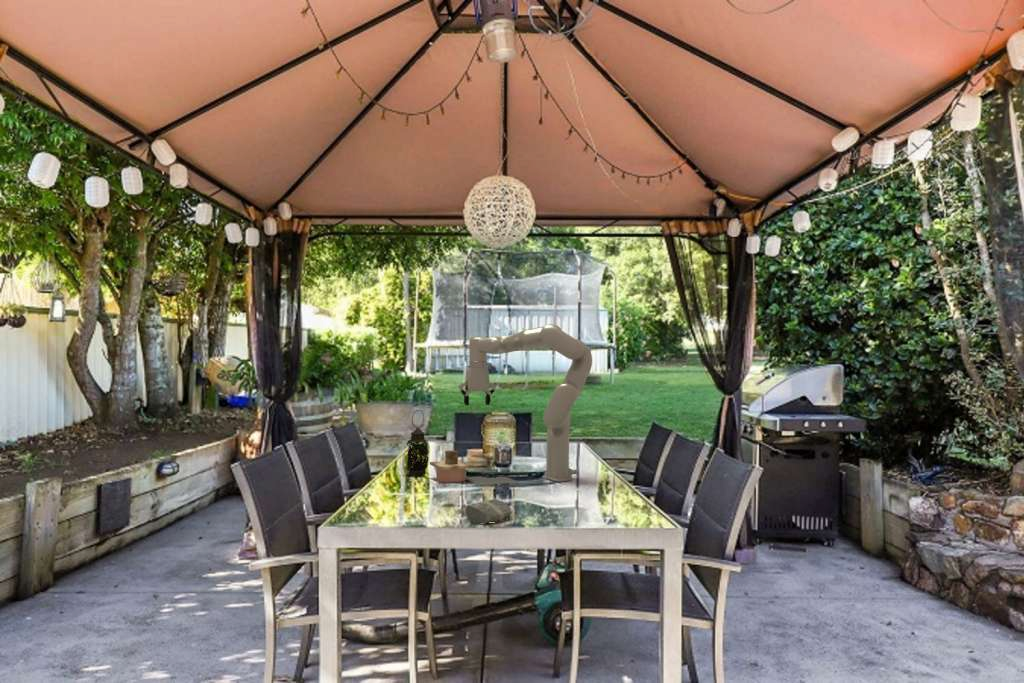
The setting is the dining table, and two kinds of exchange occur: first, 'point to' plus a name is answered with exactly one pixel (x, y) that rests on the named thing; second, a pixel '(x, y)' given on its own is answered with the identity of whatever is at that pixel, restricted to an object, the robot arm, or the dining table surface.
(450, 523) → the dining table surface
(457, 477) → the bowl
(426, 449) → the lantern
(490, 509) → the decorative stone
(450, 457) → the lid
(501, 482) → the mat
